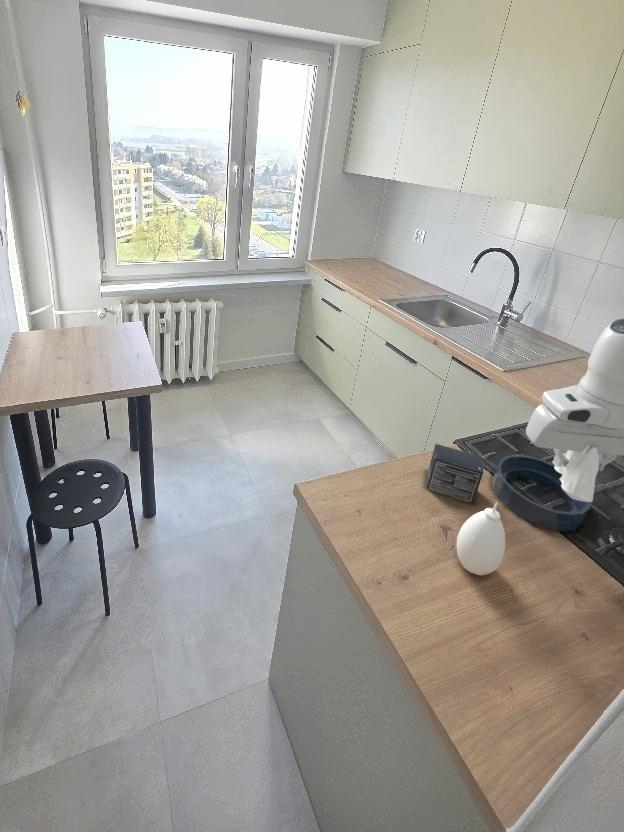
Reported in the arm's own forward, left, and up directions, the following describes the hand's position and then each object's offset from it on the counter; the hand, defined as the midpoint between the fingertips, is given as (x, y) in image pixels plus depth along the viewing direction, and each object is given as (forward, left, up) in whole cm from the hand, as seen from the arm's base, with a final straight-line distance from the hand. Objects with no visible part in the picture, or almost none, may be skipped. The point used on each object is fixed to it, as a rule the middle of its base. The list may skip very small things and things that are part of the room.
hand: (576, 466), depth 79 cm
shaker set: (0, 0, -5) cm, 5 cm away
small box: (+13, -15, -24) cm, 31 cm away
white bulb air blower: (+15, +6, -24) cm, 29 cm away
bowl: (-7, -15, -24) cm, 29 cm away
